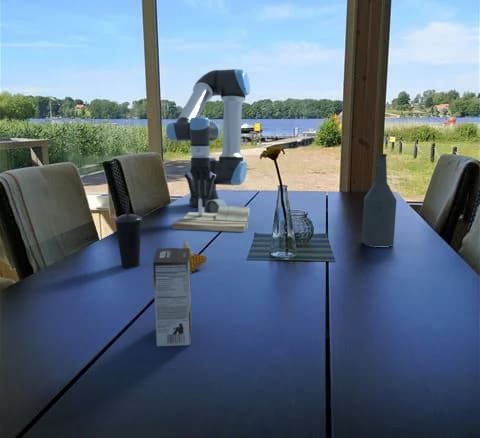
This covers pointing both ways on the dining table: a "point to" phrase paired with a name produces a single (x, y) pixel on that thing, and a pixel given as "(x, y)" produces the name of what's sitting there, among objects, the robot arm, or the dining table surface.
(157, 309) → the coffee box
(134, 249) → the drinking cup
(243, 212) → the plank
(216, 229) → the laid board
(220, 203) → the ceramic mug
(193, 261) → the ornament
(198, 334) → the dining table surface
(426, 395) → the dining table surface
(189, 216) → the plank
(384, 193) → the bottle
